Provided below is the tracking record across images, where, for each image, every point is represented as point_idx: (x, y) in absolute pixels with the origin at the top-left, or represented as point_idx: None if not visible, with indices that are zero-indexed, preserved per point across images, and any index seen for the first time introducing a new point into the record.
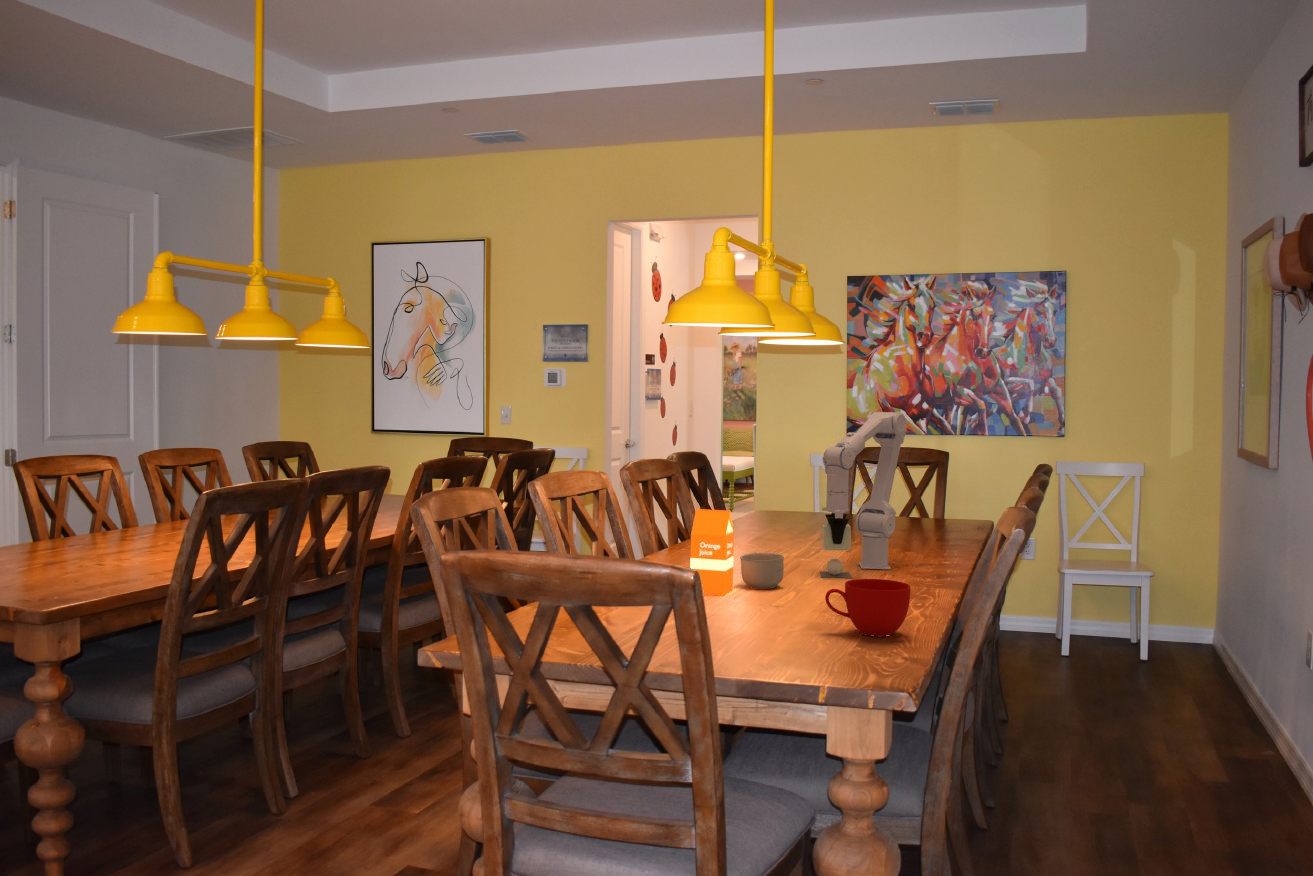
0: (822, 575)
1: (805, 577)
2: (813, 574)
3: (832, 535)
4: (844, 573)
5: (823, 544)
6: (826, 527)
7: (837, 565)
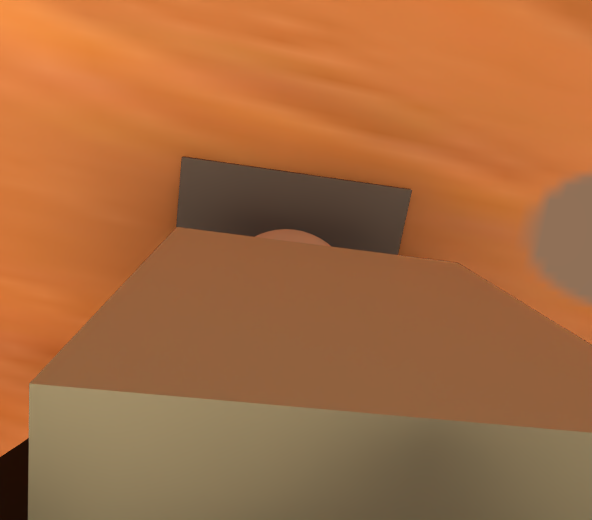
0: (234, 176)
1: (176, 17)
2: (323, 121)
3: (24, 443)
4: None
5: (359, 261)
6: (41, 454)
7: None
